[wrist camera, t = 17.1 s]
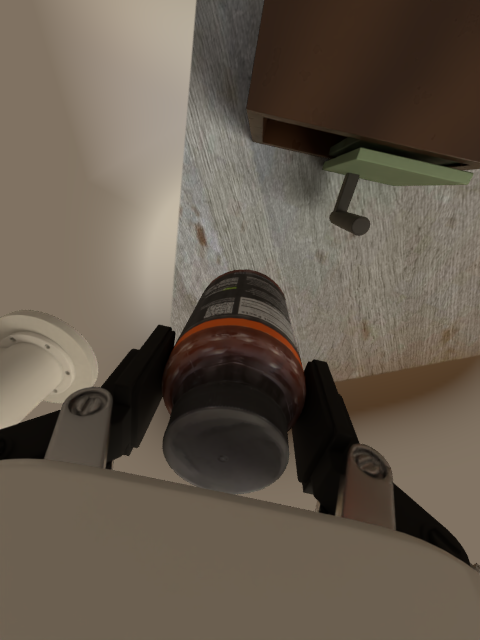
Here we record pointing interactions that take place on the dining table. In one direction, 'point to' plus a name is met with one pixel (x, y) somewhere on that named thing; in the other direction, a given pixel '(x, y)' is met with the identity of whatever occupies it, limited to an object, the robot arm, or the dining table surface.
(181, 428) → the supplement bottle
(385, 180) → the door
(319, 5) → the cabinet
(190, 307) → the dining table surface
